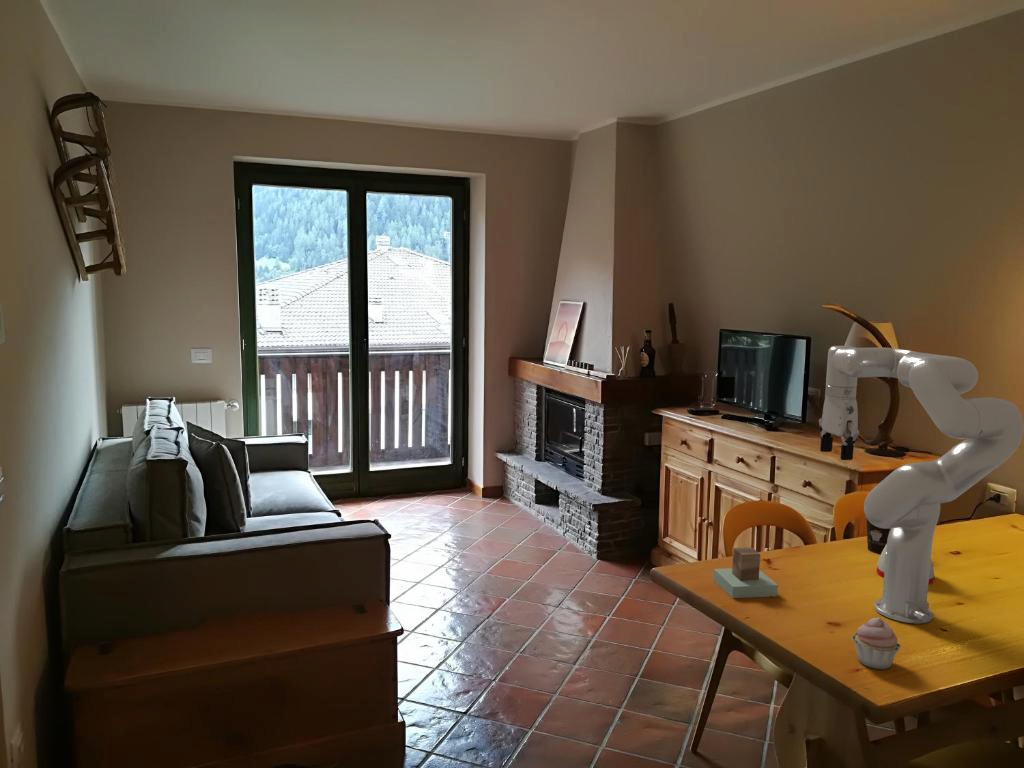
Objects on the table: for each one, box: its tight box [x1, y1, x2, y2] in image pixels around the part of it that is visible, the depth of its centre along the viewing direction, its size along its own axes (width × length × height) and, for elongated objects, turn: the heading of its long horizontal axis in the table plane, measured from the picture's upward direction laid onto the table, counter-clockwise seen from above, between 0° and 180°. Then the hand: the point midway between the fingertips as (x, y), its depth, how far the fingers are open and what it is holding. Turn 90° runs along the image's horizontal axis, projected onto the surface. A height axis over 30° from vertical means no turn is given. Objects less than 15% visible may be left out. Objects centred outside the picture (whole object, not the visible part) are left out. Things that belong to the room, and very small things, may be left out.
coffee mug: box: [865, 517, 891, 555], centre depth 224 cm, size 12×9×10 cm
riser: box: [712, 567, 779, 599], centre depth 196 cm, size 12×12×3 cm
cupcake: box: [850, 617, 902, 670], centre depth 157 cm, size 9×9×10 cm
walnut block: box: [731, 546, 761, 581], centre depth 195 cm, size 5×5×7 cm
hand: (835, 455), depth 202 cm, fingers open, 9 cm apart
